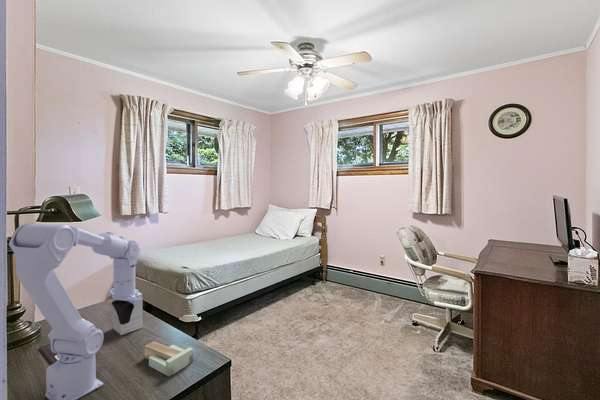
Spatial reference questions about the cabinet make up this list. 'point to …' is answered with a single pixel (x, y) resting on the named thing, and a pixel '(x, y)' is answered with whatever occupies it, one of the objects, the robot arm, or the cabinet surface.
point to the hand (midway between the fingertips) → (124, 323)
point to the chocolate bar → (49, 353)
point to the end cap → (172, 361)
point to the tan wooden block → (160, 351)
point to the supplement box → (133, 324)
